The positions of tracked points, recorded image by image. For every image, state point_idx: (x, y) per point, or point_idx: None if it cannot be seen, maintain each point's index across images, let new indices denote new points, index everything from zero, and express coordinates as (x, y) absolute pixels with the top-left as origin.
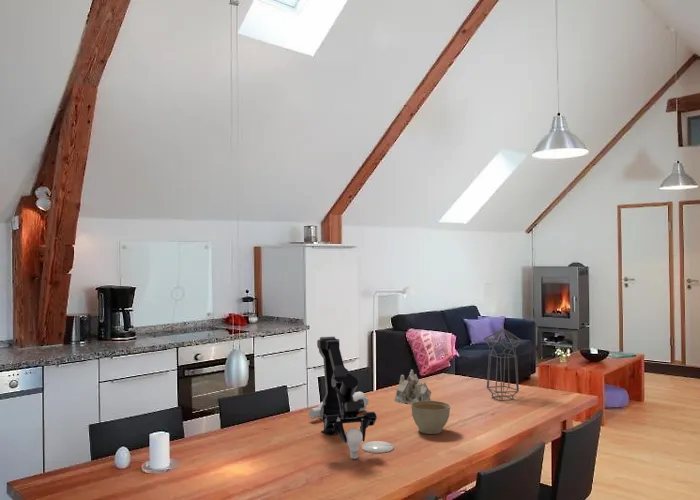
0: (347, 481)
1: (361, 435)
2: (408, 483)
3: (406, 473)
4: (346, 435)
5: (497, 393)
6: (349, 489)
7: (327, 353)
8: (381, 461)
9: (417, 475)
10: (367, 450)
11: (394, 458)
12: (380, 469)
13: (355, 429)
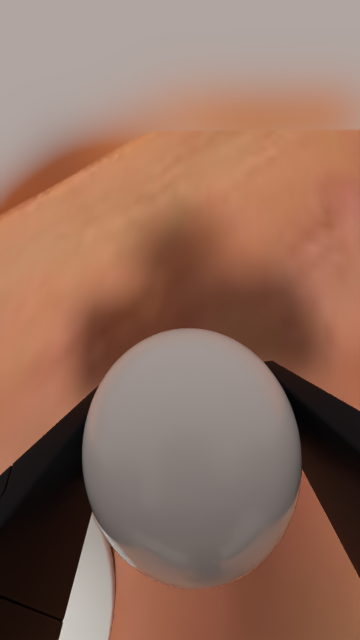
0: (238, 192)
1: (112, 365)
2: (78, 176)
3: (51, 232)
4: (286, 396)
5: None
6: (235, 151)
7: None
8: (83, 347)
9: (30, 217)
10: (97, 524)
11: (19, 376)
12: (115, 269)
13: (161, 403)
